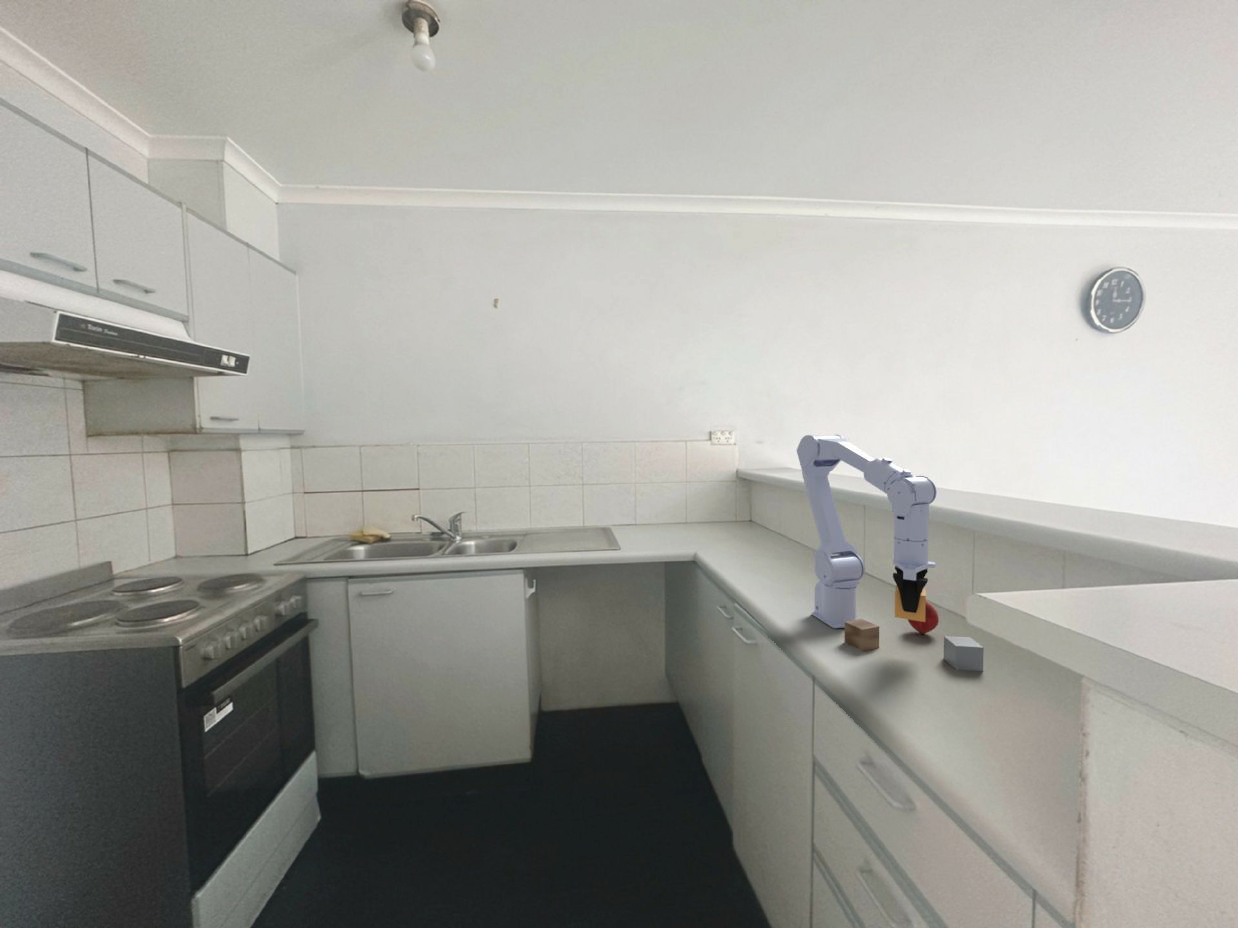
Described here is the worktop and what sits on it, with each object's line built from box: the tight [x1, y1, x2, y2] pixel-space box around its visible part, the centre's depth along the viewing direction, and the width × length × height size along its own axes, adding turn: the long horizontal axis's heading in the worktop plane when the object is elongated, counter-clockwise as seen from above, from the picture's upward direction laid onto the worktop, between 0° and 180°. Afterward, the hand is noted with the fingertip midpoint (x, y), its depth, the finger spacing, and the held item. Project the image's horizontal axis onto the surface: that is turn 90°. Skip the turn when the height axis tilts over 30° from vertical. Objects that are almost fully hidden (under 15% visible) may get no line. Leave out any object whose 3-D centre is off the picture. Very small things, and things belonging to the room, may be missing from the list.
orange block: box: [894, 584, 927, 622], centre depth 93 cm, size 5×5×5 cm
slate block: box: [943, 635, 985, 672], centre depth 89 cm, size 4×4×4 cm
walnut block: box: [844, 618, 880, 652], centre depth 98 cm, size 4×4×4 cm
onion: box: [907, 601, 940, 635], centre depth 103 cm, size 6×6×8 cm
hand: (910, 607), depth 93 cm, fingers closed on orange block, 5 cm apart
